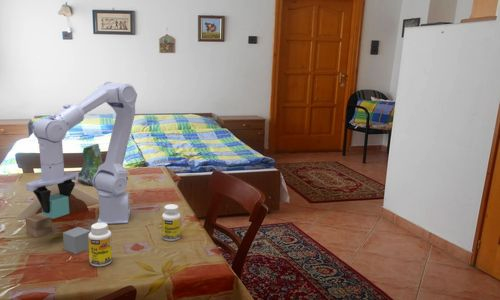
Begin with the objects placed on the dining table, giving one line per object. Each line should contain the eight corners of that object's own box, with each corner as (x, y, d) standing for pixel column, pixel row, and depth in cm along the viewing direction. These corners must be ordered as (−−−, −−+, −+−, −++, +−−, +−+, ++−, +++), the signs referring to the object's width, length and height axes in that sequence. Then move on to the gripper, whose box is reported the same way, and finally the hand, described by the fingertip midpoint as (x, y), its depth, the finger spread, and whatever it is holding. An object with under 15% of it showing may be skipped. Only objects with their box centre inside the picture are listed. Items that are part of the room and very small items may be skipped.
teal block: (58, 209, 123) (57, 193, 122) (69, 213, 120) (68, 196, 119) (42, 214, 119) (41, 197, 118) (53, 218, 116) (51, 201, 115)
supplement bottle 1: (88, 268, 106) (86, 230, 104) (91, 258, 112) (89, 221, 109) (111, 266, 108) (109, 229, 105) (113, 256, 113) (111, 220, 111)
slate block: (79, 243, 120) (78, 226, 119) (91, 247, 118) (90, 230, 117) (64, 249, 116) (62, 232, 115) (75, 254, 114) (74, 237, 112)
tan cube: (42, 228, 129) (41, 212, 128) (52, 232, 127) (51, 216, 126) (26, 233, 125) (25, 217, 124) (36, 238, 123) (35, 221, 121)
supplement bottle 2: (162, 242, 122) (162, 210, 120) (161, 234, 127) (161, 203, 125) (181, 240, 124) (181, 209, 121) (179, 233, 129) (179, 202, 127)
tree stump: (118, 189, 168) (104, 147, 164) (72, 198, 171) (58, 156, 167) (134, 174, 186) (123, 135, 181) (93, 182, 189) (80, 144, 184)
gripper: (66, 155, 124) (69, 199, 127) (17, 165, 112) (22, 213, 115) (82, 159, 121) (84, 204, 124) (33, 170, 109) (37, 219, 112)
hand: (55, 209), depth 119 cm, fingers closed on teal block, 5 cm apart
